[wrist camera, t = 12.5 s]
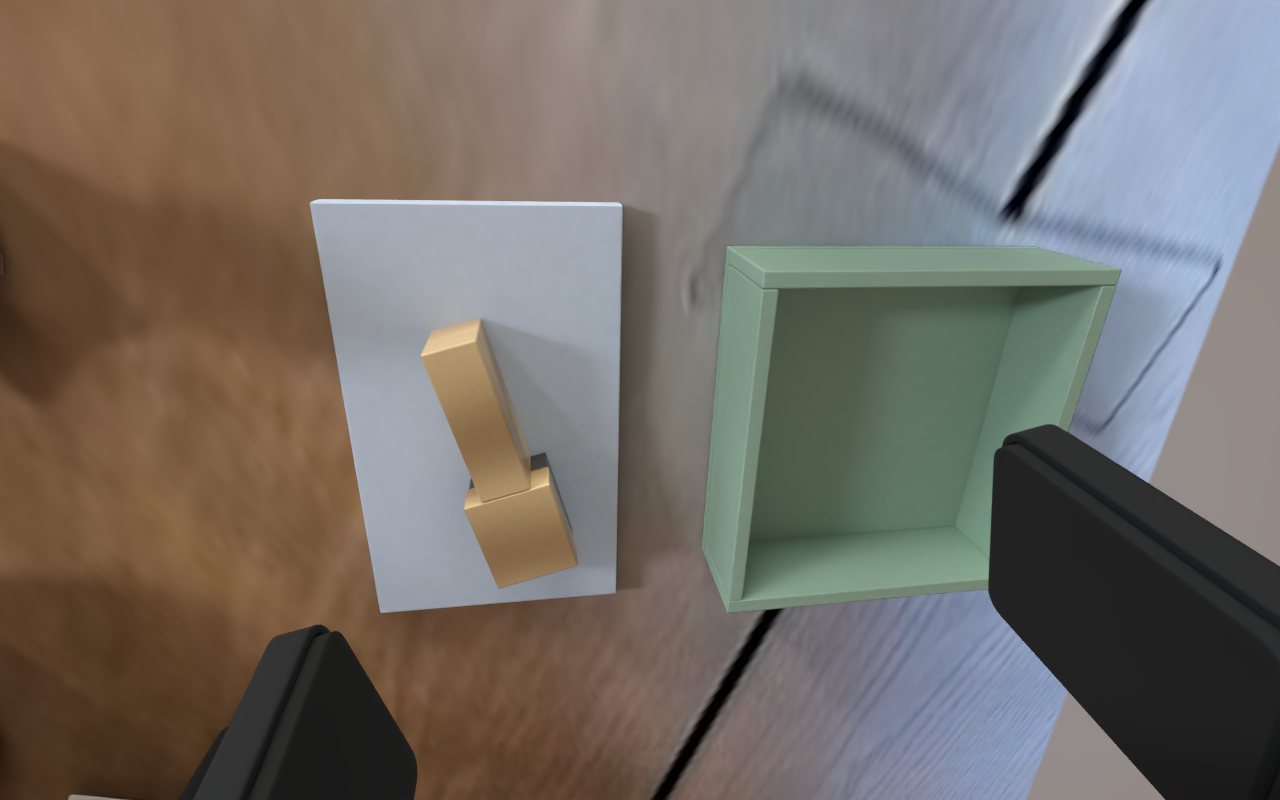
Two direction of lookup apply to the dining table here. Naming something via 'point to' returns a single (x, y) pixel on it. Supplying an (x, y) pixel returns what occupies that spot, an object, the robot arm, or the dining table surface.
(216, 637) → the dining table surface
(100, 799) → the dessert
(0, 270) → the stuffed fox
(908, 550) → the basket
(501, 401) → the brush
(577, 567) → the mat
